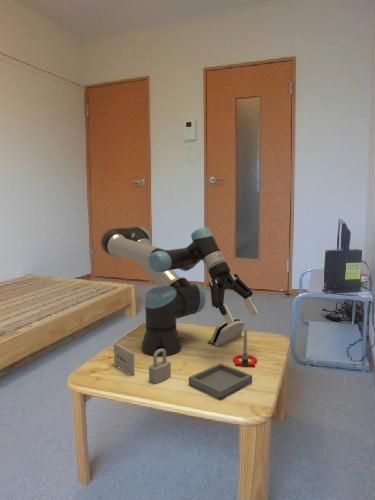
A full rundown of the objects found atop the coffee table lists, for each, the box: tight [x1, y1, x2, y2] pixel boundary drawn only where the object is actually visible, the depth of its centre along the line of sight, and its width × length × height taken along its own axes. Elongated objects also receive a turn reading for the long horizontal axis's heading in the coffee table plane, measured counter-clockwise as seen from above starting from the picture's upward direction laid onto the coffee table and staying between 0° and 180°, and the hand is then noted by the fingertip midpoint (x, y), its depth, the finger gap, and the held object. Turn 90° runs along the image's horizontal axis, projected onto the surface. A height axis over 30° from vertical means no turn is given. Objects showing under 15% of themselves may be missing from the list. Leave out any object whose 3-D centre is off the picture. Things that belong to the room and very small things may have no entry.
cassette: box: [113, 342, 136, 376], centre depth 134 cm, size 12×2×8 cm, turn 39°
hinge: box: [207, 317, 245, 347], centre depth 161 cm, size 17×5×10 cm, turn 138°
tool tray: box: [188, 362, 253, 401], centre depth 123 cm, size 13×15×2 cm
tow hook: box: [232, 329, 258, 368], centre depth 140 cm, size 8×13×9 cm
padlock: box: [148, 349, 172, 385], centre depth 126 cm, size 7×4×10 cm, turn 138°
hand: (243, 318), depth 139 cm, fingers open, 13 cm apart
